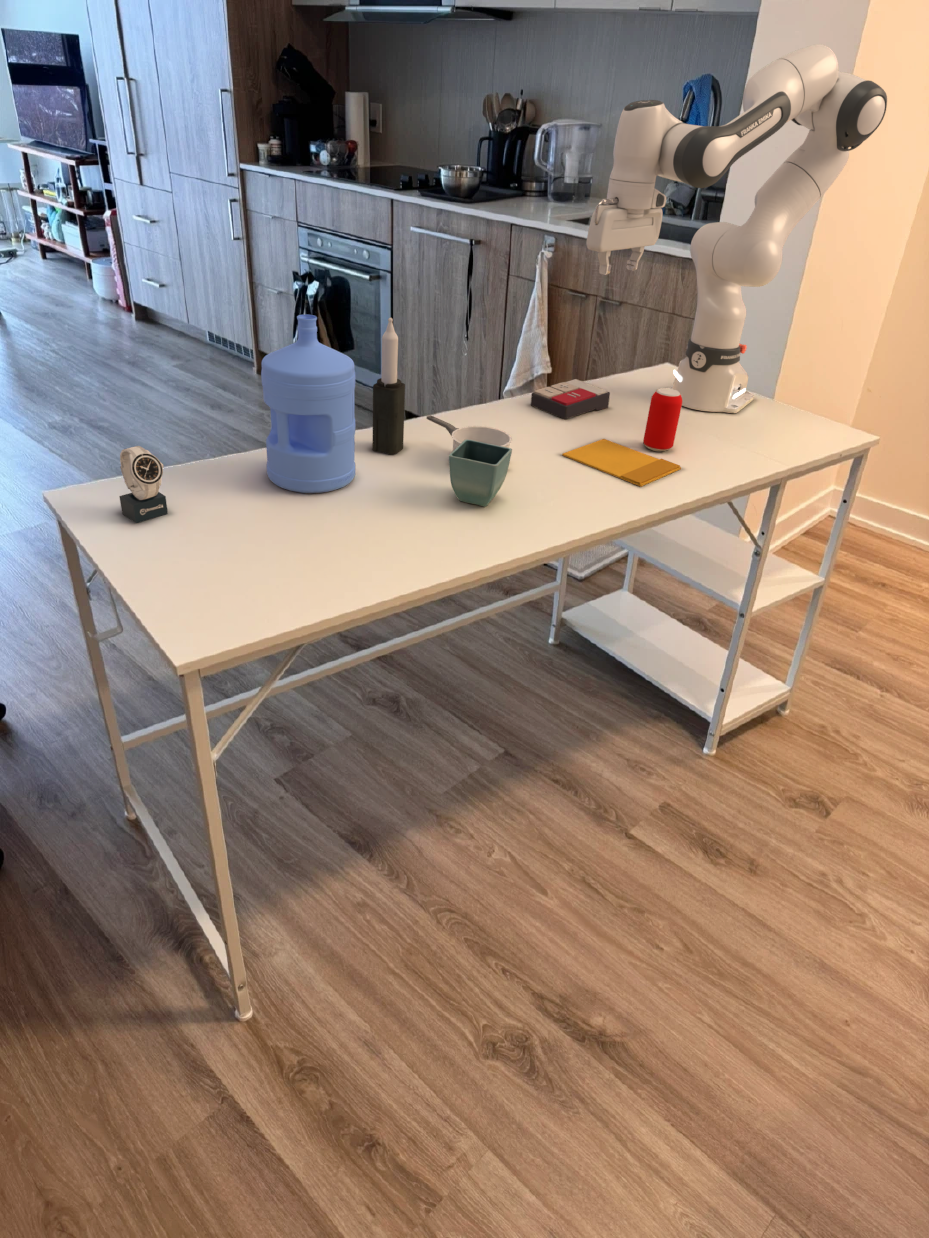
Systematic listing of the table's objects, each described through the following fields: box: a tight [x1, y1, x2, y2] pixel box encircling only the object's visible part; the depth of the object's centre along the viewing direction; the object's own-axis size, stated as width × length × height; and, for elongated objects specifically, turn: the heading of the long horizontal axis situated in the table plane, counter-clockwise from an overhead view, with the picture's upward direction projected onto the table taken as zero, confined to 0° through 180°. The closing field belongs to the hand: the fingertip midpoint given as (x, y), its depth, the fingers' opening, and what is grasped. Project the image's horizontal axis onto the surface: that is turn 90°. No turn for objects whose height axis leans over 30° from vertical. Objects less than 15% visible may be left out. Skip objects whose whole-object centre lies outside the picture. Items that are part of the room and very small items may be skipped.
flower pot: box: [448, 439, 513, 507], centre depth 149 cm, size 9×9×9 cm
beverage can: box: [642, 387, 683, 452], centre depth 176 cm, size 6×6×12 cm
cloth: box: [561, 438, 682, 488], centre depth 171 cm, size 14×19×1 cm
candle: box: [371, 317, 406, 456], centre depth 162 cm, size 5×5×25 cm
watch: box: [119, 445, 169, 524], centre depth 135 cm, size 6×8×11 cm
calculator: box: [530, 378, 611, 420], centre depth 197 cm, size 11×4×15 cm
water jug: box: [260, 313, 356, 494], centre depth 147 cm, size 16×16×28 cm
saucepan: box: [425, 414, 513, 452], centre depth 166 cm, size 12×20×6 cm, turn 47°
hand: (618, 272), depth 175 cm, fingers open, 8 cm apart
